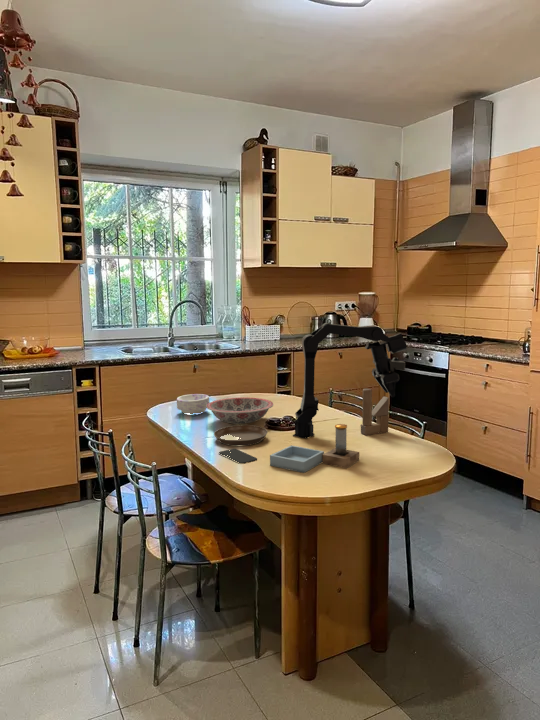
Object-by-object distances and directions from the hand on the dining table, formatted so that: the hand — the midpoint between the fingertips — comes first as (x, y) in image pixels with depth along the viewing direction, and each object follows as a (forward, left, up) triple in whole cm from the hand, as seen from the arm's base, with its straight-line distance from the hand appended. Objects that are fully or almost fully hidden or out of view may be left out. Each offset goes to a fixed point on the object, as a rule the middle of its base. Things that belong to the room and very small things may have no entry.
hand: (390, 394), depth 208 cm
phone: (-33, -55, -16) cm, 66 cm away
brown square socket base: (0, -41, -15) cm, 44 cm away
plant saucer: (-45, -38, -16) cm, 61 cm away
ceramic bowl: (-62, -17, -16) cm, 66 cm away
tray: (-11, -50, -15) cm, 54 cm away
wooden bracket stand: (-5, -3, -16) cm, 17 cm away
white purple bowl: (-91, -16, -16) cm, 94 cm away
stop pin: (0, -41, -15) cm, 44 cm away
